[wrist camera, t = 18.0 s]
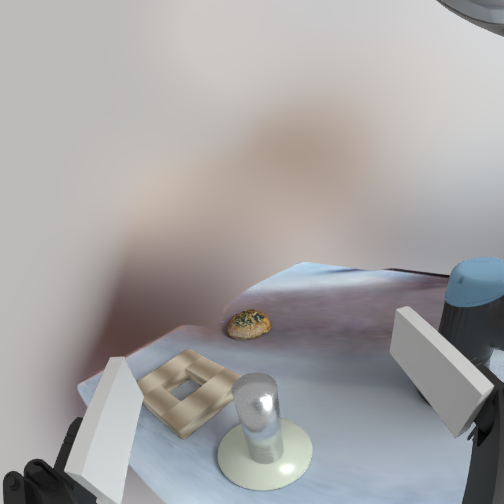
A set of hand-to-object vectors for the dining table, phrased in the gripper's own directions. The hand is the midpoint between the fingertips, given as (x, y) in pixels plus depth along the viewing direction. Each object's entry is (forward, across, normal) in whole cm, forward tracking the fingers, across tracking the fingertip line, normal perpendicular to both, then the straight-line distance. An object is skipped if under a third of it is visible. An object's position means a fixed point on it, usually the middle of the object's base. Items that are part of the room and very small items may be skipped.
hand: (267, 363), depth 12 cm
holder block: (+28, -14, -30) cm, 43 cm away
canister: (+12, -1, -29) cm, 32 cm away
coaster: (+12, -1, -30) cm, 32 cm away
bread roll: (+48, 0, -30) cm, 57 cm away
